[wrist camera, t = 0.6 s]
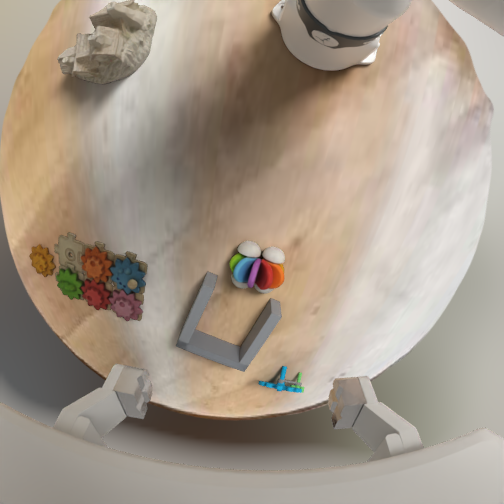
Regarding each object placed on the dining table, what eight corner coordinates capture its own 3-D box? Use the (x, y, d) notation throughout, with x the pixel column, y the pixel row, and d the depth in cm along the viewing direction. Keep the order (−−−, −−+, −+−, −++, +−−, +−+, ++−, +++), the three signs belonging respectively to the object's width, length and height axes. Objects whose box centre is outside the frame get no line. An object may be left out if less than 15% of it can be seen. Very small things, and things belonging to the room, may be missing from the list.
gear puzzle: (35, 278, 56) (26, 286, 52) (32, 218, 50) (21, 223, 46) (143, 321, 59) (137, 332, 55) (151, 256, 53) (144, 266, 49)
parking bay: (207, 271, 53) (203, 284, 49) (279, 301, 55) (281, 316, 51) (181, 331, 59) (175, 346, 54) (245, 355, 61) (244, 371, 57)
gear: (250, 384, 63) (269, 391, 54) (256, 360, 65) (275, 363, 56) (290, 391, 66) (312, 397, 57) (295, 369, 68) (318, 372, 59)
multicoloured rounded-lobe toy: (276, 288, 55) (278, 310, 48) (226, 276, 54) (221, 297, 47) (289, 248, 51) (294, 265, 45) (236, 234, 50) (233, 250, 44)
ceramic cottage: (167, 6, 34) (128, -27, 20) (140, 87, 41) (90, 78, 27) (98, 9, 33) (52, -11, 20) (75, 83, 40) (21, 80, 27)
